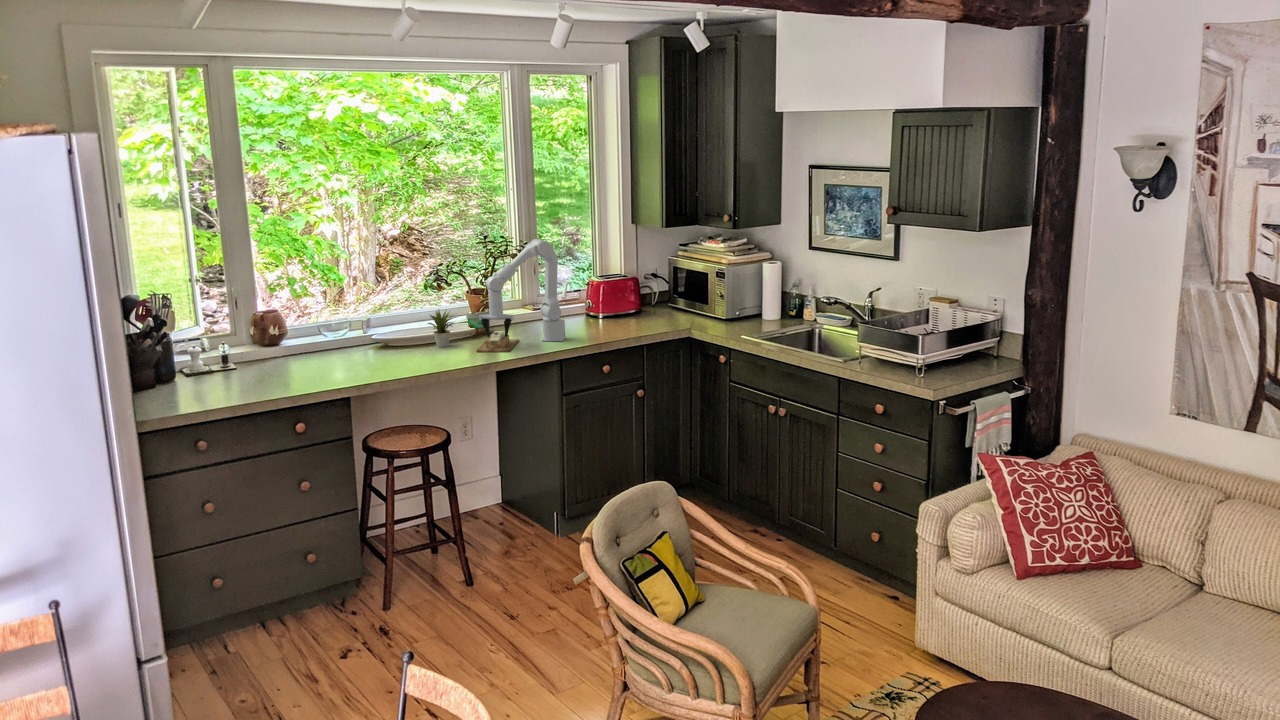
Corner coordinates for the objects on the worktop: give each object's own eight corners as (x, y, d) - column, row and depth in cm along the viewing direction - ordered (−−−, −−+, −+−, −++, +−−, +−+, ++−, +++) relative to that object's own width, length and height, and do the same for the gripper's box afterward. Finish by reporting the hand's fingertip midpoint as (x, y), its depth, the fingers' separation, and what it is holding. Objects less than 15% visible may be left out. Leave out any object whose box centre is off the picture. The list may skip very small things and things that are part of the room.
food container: (476, 336, 446) (475, 314, 443) (467, 335, 449) (465, 313, 447) (496, 331, 455) (495, 310, 453) (487, 330, 459) (485, 308, 456)
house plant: (451, 351, 421) (449, 312, 417) (421, 350, 424) (418, 312, 420) (464, 343, 435) (461, 306, 431) (434, 342, 437) (431, 305, 433)
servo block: (505, 341, 433) (505, 328, 431) (499, 348, 420) (498, 335, 419) (496, 341, 433) (496, 328, 432) (489, 348, 421) (488, 335, 419)
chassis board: (519, 341, 436) (518, 332, 435) (509, 352, 417) (508, 343, 416) (487, 341, 437) (486, 332, 436) (476, 352, 418) (475, 343, 417)
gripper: (476, 306, 419) (478, 338, 423) (510, 306, 418) (512, 338, 422) (480, 303, 426) (482, 334, 430) (514, 303, 425) (515, 334, 428)
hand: (497, 336), depth 426 cm, fingers open, 7 cm apart
